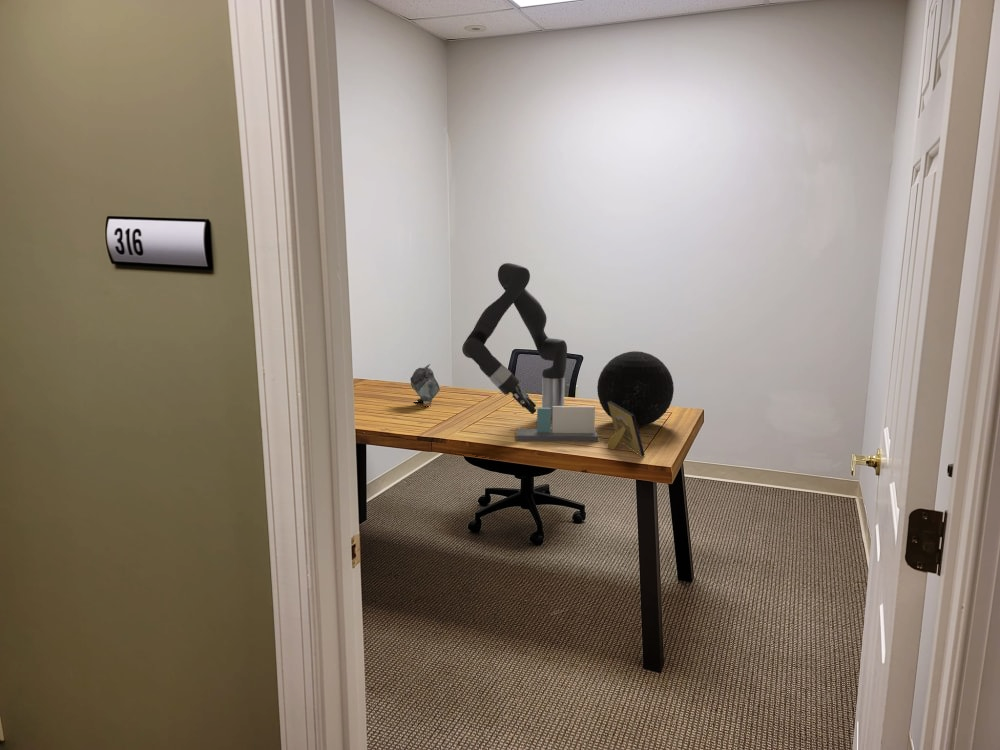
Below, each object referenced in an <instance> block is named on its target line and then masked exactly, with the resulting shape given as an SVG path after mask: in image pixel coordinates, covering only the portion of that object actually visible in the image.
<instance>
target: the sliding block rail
mask: <svg viewBox="0 0 1000 750" xmlns="http://www.w3.org/2000/svg"><path fill="white" fill-rule="evenodd" d="M595 421H596V407H595V406H592V405H590V406H589V405H587V406H586V405H584V406H583V405H582V406H578V405H575V406H573V405H571V406H570V405H568V406H566V405H564V406H552V419H551V429H550V432H537V428H516V441H517V442H521V441H522V442H591V443H593V442H599V434H598V433H597V430H596V429H595V423H596V422H595Z"/></svg>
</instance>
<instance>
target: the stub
mask: <svg viewBox="0 0 1000 750" xmlns="http://www.w3.org/2000/svg"><path fill="white" fill-rule="evenodd" d="M536 414H537V415H536V429H537V432H550V429H551V424H552V419H551V408H542V407H537V408H536Z"/></svg>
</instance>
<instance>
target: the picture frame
mask: <svg viewBox="0 0 1000 750" xmlns="http://www.w3.org/2000/svg"><path fill="white" fill-rule="evenodd" d="M608 406H609V409H610V413H611V417H612V418H611V417H610V418H611V419H612V424H613V428H614V432H615V433H614V434H613V435H612V436H611V437H610V438H608V441H607V446H606V448H607V447H608V449H610V448H611V449H612V450H615V449H616V448H617V446H618V444H619V442H620V443H622V444H623V443H624V444H623V445H625V446H626V447H627V446H628V448H629V449H630V448H631V449H630V450H632V451H633V450H634V451H635V454H637V453H638V455H639V454H640V455H641V456H642V457H645V456H644V455H646V454H645V450H644V446H643V442H642V438H641V435H640V431H639V426H637V422H636V418H635V415H633V414H632V413H630V412H628V411H627V410H625V409H623V408H622V407H620V406H618V405H616V404H615V403H613V402H611V401H609V402H608ZM634 451H633V452H634ZM640 455H639V456H640ZM641 456H640V457H641Z"/></svg>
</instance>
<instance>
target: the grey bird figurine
mask: <svg viewBox="0 0 1000 750" xmlns="http://www.w3.org/2000/svg"><path fill="white" fill-rule="evenodd" d="M430 365H431V363H429V364H427V365H426V366H424V367H418V368H416V369H415V370H414V372H413V374H412V376H410V386H411V388H412V389H413V391H415V392H416V394H417V396H418V397H420V398H418V399H416V400H417V401H418V402H423V403H422V405H423V406H430V407H431V406H432V404H431V403H432V401H433V399H434V398H435V397H436V396H437V394H438V393H439V392H440V390H441V389H440V385H439V383H438V381H437V380H436V378H435V374H434V371H433V370H432V369H431V368H430Z"/></svg>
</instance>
